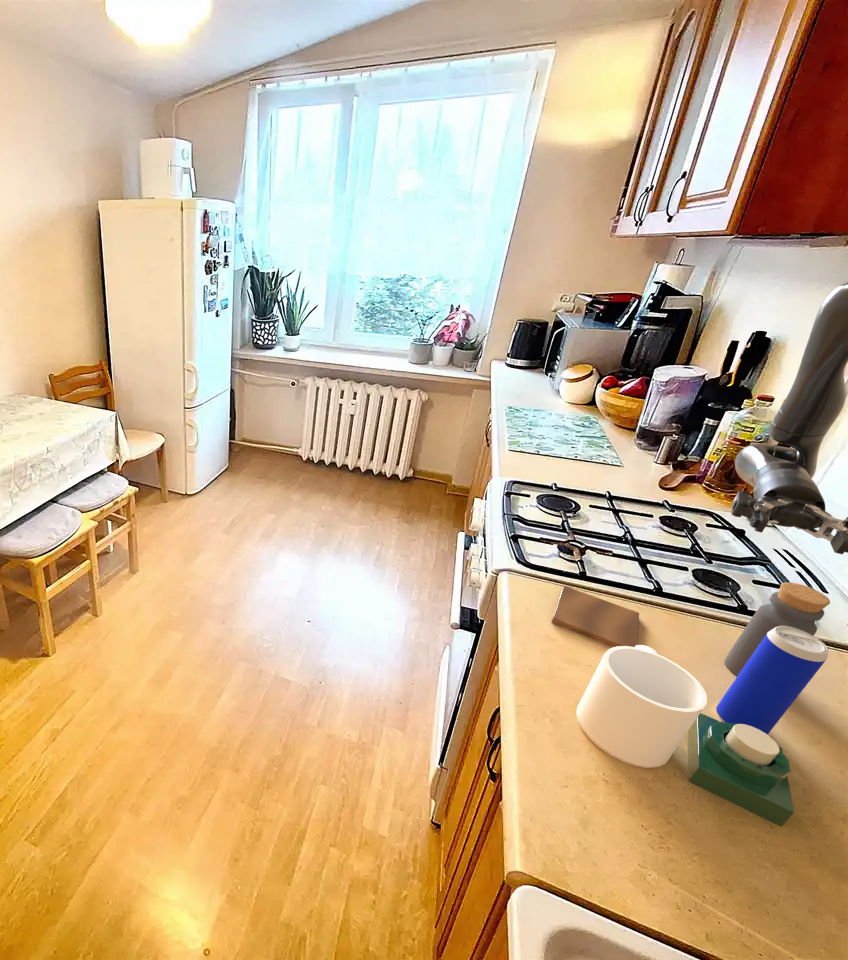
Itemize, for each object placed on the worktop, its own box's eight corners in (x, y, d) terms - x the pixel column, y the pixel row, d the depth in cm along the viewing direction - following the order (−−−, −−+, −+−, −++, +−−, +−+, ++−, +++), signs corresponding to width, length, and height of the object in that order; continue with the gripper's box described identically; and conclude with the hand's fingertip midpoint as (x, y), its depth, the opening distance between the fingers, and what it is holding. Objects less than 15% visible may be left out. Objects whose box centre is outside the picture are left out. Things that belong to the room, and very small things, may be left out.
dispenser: (687, 725, 69) (703, 701, 67) (770, 761, 64) (790, 738, 62) (688, 781, 62) (706, 757, 60) (781, 827, 57) (803, 802, 55)
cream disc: (723, 728, 64) (731, 717, 63) (768, 748, 61) (777, 736, 60) (725, 751, 61) (734, 740, 60) (772, 773, 59) (782, 761, 58)
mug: (673, 785, 61) (714, 727, 57) (574, 741, 66) (604, 684, 61) (663, 710, 71) (697, 655, 66) (576, 677, 76) (602, 623, 71)
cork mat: (637, 617, 87) (639, 612, 87) (632, 655, 80) (635, 650, 79) (561, 589, 93) (563, 585, 93) (551, 622, 86) (553, 617, 85)
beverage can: (759, 717, 70) (821, 634, 63) (771, 747, 66) (840, 662, 59) (709, 700, 72) (765, 618, 65) (719, 728, 68) (779, 644, 61)
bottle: (739, 683, 75) (795, 603, 68) (714, 653, 80) (764, 576, 73) (787, 691, 74) (849, 611, 67) (759, 661, 79) (814, 583, 72)
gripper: (741, 464, 90) (749, 499, 79) (861, 490, 82) (889, 534, 71) (720, 501, 93) (725, 540, 82) (833, 530, 86) (856, 577, 74)
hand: (801, 537), depth 77 cm, fingers open, 8 cm apart
